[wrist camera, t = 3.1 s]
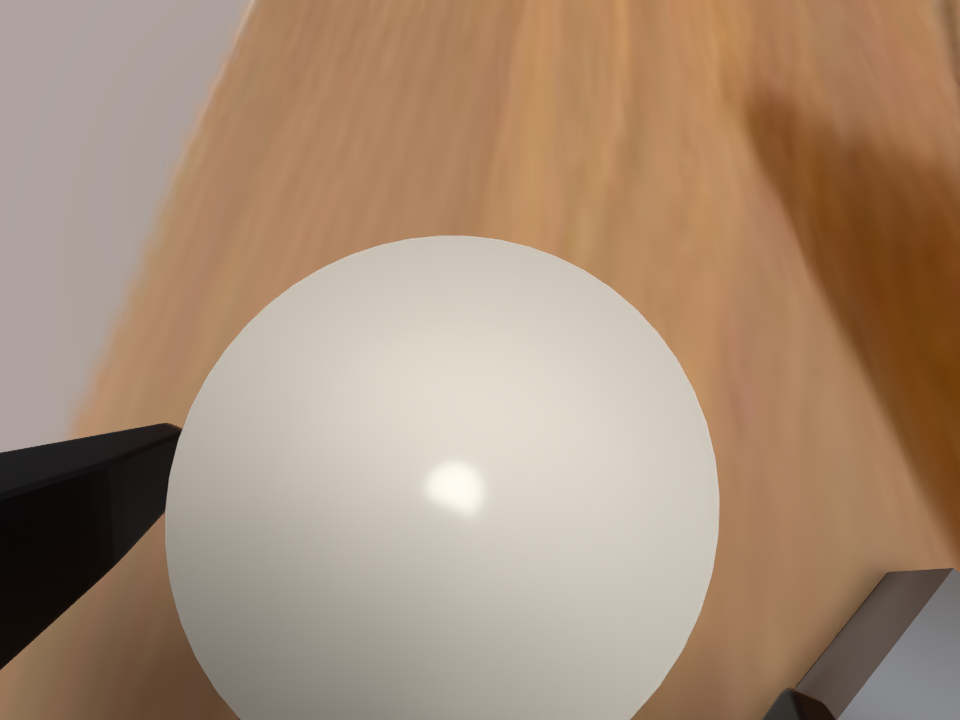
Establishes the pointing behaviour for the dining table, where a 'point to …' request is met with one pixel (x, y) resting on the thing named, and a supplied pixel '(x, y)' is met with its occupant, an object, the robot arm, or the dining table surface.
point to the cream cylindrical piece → (442, 495)
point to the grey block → (896, 653)
